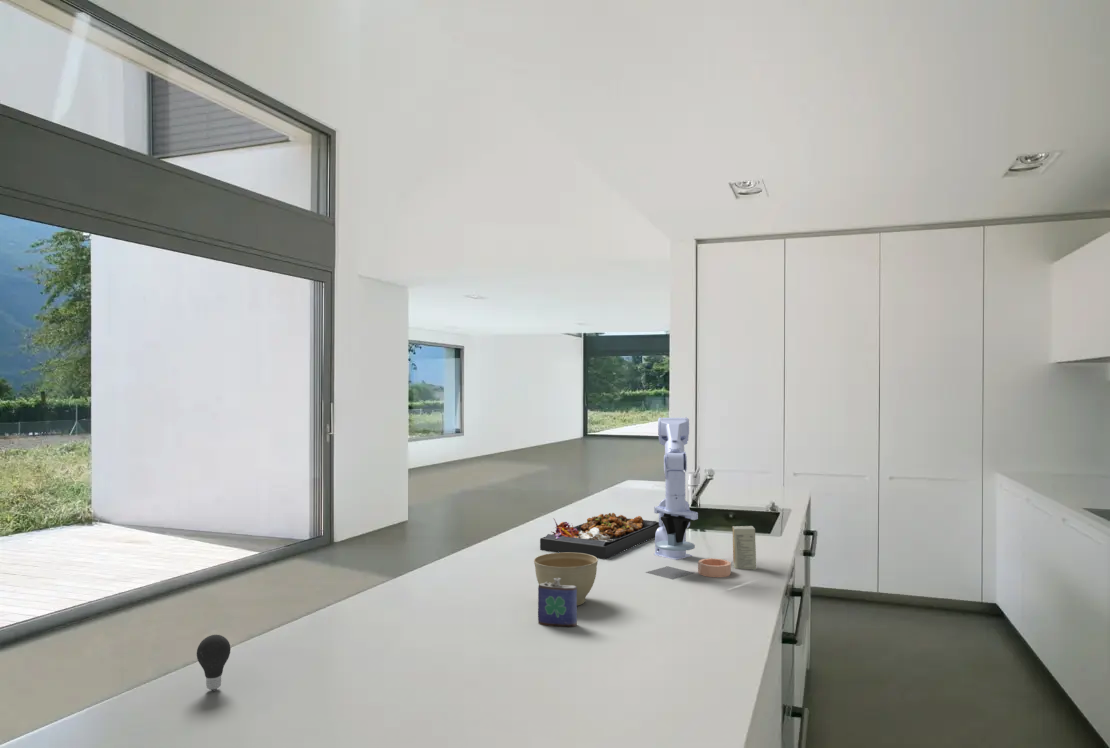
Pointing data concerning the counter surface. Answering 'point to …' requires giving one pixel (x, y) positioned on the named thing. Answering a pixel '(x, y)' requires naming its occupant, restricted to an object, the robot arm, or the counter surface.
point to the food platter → (600, 535)
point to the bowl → (714, 567)
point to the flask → (557, 604)
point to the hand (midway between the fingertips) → (675, 541)
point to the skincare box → (744, 547)
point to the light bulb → (213, 659)
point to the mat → (669, 572)
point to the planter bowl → (568, 571)
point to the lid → (674, 544)
